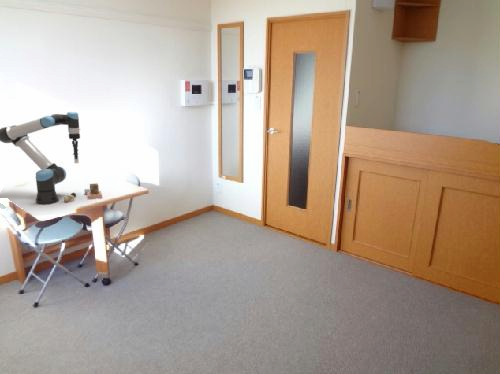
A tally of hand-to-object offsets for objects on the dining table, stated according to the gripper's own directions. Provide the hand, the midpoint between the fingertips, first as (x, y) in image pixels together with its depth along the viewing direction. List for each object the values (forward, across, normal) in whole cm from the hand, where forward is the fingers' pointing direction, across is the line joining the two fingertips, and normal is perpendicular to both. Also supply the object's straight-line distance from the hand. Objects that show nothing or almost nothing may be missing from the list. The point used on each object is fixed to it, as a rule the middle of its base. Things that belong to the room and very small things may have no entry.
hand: (76, 161), depth 294 cm
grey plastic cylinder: (+29, +7, -6) cm, 30 cm away
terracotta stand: (+28, -2, -11) cm, 31 cm away
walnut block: (+26, -2, -11) cm, 28 cm away
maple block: (+29, -8, +7) cm, 31 cm away
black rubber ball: (+27, +2, +4) cm, 27 cm away
